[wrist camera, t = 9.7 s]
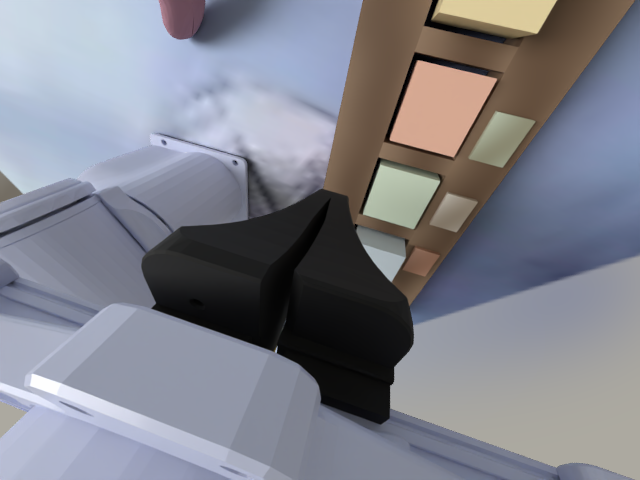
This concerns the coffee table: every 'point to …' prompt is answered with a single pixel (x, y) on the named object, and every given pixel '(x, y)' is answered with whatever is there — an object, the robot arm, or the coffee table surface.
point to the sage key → (399, 193)
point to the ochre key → (494, 16)
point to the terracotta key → (439, 107)
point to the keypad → (487, 129)
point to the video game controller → (182, 17)
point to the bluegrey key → (383, 249)
